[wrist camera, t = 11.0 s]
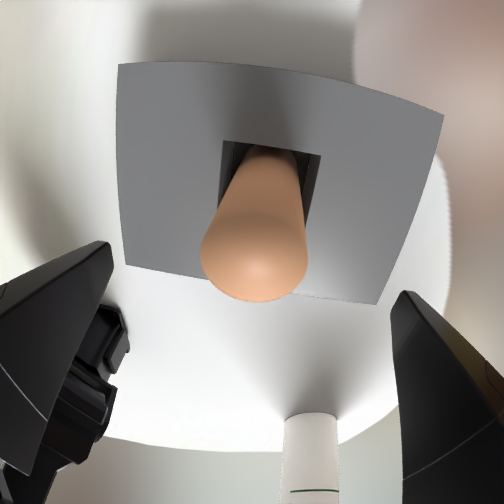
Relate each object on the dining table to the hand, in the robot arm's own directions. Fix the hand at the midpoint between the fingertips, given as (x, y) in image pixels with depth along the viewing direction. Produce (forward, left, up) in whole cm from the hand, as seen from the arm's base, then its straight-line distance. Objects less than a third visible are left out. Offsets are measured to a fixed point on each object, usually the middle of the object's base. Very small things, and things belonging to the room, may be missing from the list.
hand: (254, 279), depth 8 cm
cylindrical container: (+11, -32, -11) cm, 36 cm away
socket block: (0, 0, -11) cm, 11 cm away
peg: (0, 0, -11) cm, 11 cm away
